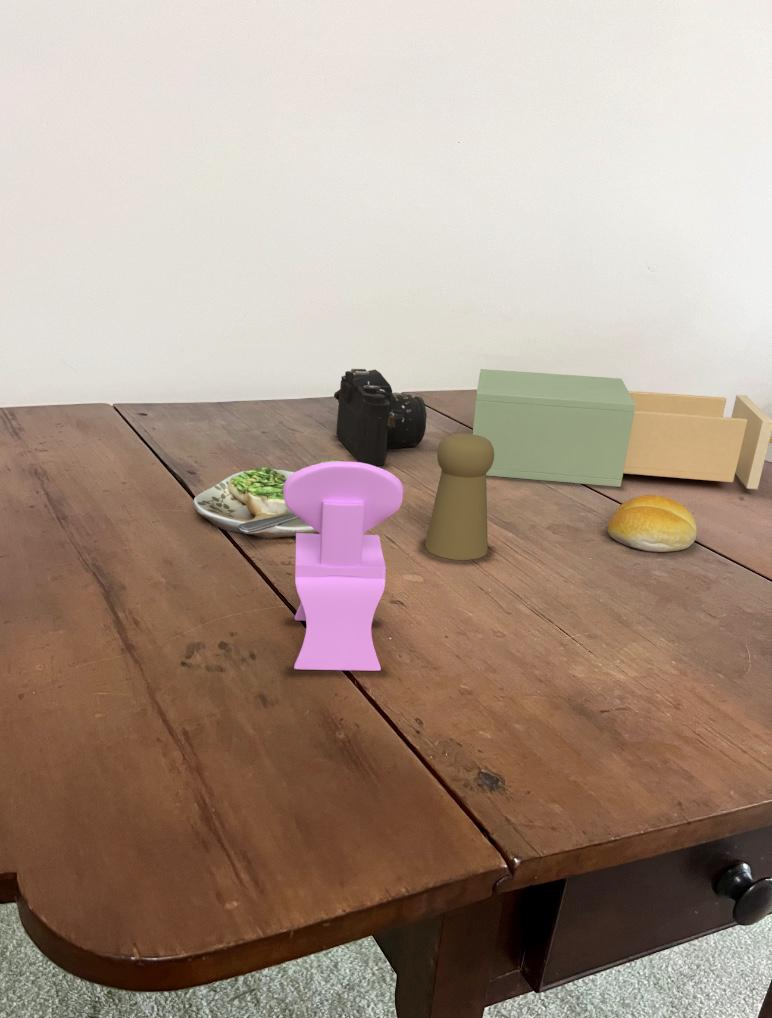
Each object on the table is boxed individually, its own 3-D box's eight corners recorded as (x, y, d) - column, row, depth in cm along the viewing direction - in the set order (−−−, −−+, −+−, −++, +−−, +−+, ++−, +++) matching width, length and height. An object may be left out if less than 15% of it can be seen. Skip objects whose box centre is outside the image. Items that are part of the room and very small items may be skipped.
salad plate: (319, 564, 84) (321, 517, 82) (155, 529, 90) (153, 484, 88) (395, 503, 100) (398, 462, 98) (251, 478, 106) (251, 439, 104)
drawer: (777, 460, 117) (793, 398, 113) (808, 493, 105) (827, 425, 101) (599, 446, 120) (609, 386, 117) (609, 476, 108) (620, 410, 105)
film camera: (457, 459, 116) (465, 380, 112) (376, 472, 110) (381, 388, 106) (379, 426, 130) (383, 354, 125) (302, 436, 124) (304, 361, 120)
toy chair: (384, 617, 74) (397, 435, 68) (394, 671, 66) (410, 470, 60) (282, 615, 74) (284, 432, 68) (279, 669, 66) (282, 467, 60)
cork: (487, 562, 85) (501, 447, 81) (422, 556, 86) (432, 442, 82) (488, 539, 91) (500, 430, 86) (427, 534, 92) (436, 425, 87)
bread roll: (601, 545, 90) (607, 507, 89) (617, 518, 98) (623, 482, 96) (689, 562, 87) (697, 522, 85) (699, 532, 94) (707, 495, 93)
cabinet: (608, 453, 121) (621, 378, 117) (620, 487, 108) (635, 404, 104) (472, 442, 124) (480, 368, 119) (468, 474, 110) (476, 392, 106)
